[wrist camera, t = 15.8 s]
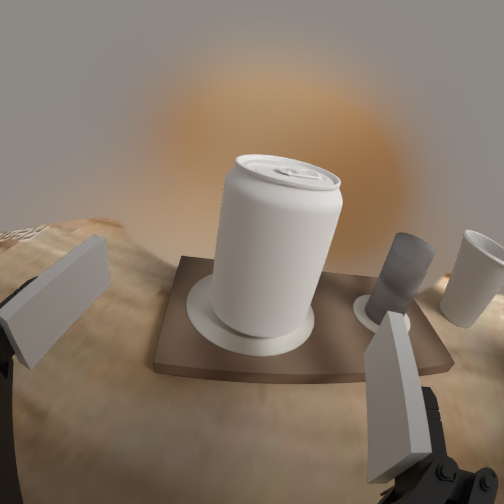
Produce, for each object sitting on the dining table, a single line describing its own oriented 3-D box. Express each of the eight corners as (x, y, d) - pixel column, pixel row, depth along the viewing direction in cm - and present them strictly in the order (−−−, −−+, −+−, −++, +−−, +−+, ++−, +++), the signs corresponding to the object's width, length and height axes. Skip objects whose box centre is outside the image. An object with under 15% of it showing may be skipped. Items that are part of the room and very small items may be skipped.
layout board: (396, 287, 34) (424, 221, 30) (448, 371, 22) (500, 294, 17) (181, 265, 31) (186, 180, 26) (154, 372, 19) (146, 260, 14)
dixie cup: (454, 292, 35) (483, 231, 30) (488, 329, 28) (525, 265, 24) (419, 296, 33) (452, 226, 28) (458, 340, 26) (502, 265, 21)
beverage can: (202, 281, 27) (217, 148, 21) (283, 278, 29) (312, 159, 24) (221, 349, 20) (248, 182, 14) (319, 335, 23) (372, 194, 17)
